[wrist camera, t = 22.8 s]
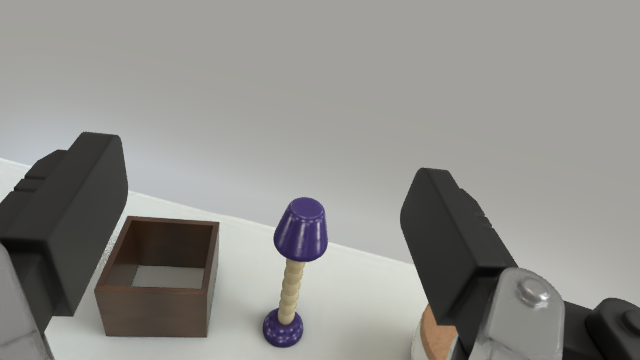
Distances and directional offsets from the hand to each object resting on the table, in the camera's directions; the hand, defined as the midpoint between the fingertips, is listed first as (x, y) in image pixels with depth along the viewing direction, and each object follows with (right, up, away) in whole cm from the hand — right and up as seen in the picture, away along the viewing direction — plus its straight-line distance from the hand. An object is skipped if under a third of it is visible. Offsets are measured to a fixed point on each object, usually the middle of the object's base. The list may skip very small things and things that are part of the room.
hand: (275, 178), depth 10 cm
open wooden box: (-15, -12, +30) cm, 35 cm away
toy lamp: (-3, -16, +30) cm, 33 cm away
